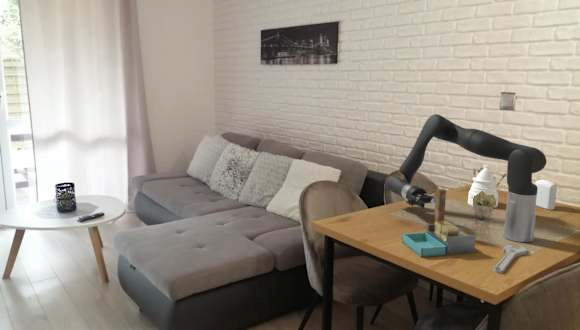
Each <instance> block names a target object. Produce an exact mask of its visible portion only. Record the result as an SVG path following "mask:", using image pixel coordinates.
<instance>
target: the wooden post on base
mask: <svg viewBox="0 0 580 330" xmlns="http://www.w3.org/2000/svg"><path fill="white" fill-rule="evenodd" d="M435 194H436V201H435V204H434V206H435V207H434V218H433V219H434V220H433V224H435V221H444V220H445V211H446V199H447V189H444V188H436V189H435Z"/></svg>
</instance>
